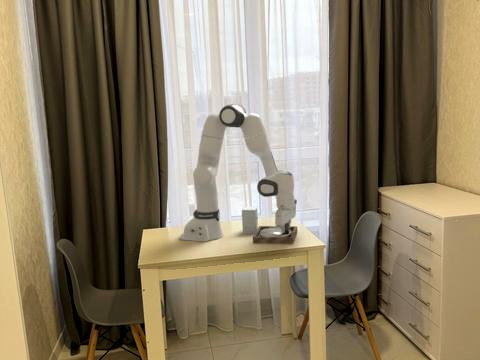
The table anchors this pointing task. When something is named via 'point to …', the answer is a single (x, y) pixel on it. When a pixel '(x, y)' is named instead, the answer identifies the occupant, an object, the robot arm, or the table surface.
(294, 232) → the dial housing
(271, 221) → the table surface
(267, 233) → the dial
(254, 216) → the supplement box
